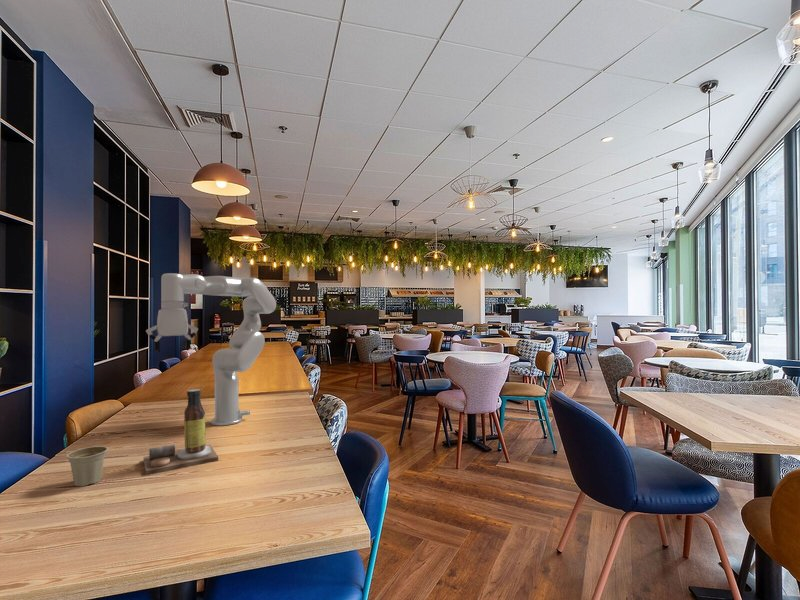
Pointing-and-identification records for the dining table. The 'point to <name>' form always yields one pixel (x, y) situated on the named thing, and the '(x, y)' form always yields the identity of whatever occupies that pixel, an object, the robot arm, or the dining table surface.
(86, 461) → the flower pot
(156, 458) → the board
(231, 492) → the dining table surface
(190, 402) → the sauce bottle
